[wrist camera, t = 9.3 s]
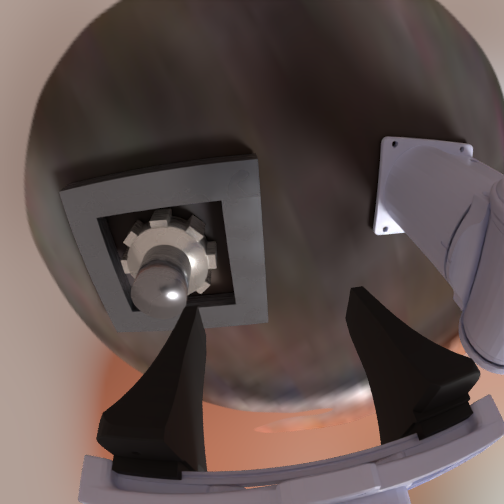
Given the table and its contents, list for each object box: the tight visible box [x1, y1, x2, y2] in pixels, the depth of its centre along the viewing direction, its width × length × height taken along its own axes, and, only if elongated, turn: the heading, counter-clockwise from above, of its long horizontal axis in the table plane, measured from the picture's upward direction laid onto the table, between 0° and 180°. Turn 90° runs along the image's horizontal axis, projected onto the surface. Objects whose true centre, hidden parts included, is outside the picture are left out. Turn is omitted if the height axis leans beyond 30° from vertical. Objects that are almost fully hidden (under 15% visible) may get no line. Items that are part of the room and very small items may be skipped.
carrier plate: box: [59, 153, 268, 332], centre depth 22 cm, size 14×14×2 cm
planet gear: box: [121, 208, 217, 319], centre depth 20 cm, size 7×7×6 cm
